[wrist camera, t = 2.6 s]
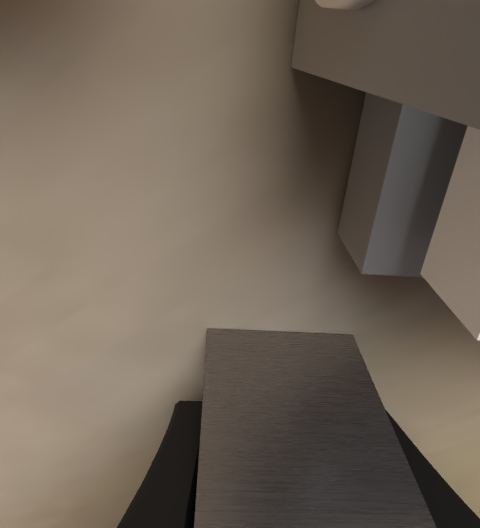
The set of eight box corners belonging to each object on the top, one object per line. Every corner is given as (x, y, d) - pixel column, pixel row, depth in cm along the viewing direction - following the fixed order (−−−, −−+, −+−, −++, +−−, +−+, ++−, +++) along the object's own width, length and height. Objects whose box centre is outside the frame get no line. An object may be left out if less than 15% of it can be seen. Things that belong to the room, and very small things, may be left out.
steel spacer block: (352, 334, 11) (461, 585, 6) (327, 434, 13) (394, 694, 8) (207, 328, 11) (190, 584, 6) (202, 431, 13) (185, 695, 8)
